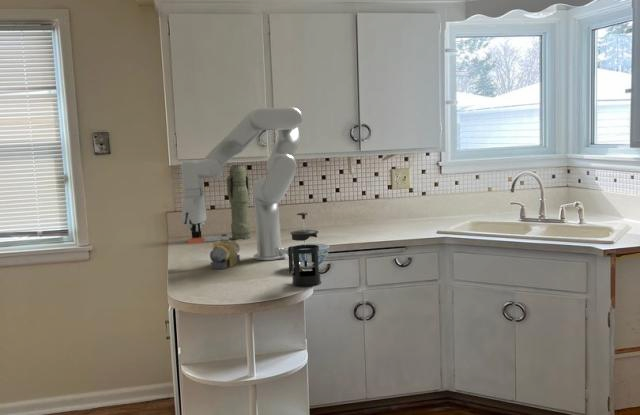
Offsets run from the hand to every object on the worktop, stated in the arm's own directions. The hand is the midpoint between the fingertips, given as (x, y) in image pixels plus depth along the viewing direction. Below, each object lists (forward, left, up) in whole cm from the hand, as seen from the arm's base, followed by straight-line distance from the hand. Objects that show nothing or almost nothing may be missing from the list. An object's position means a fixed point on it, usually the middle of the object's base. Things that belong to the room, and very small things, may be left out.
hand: (197, 241), depth 244 cm
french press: (-50, +25, -10) cm, 57 cm away
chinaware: (-44, +1, -10) cm, 45 cm away
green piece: (+10, -64, -10) cm, 66 cm away
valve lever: (-5, +1, 0) cm, 5 cm away
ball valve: (-10, -2, -9) cm, 14 cm away
